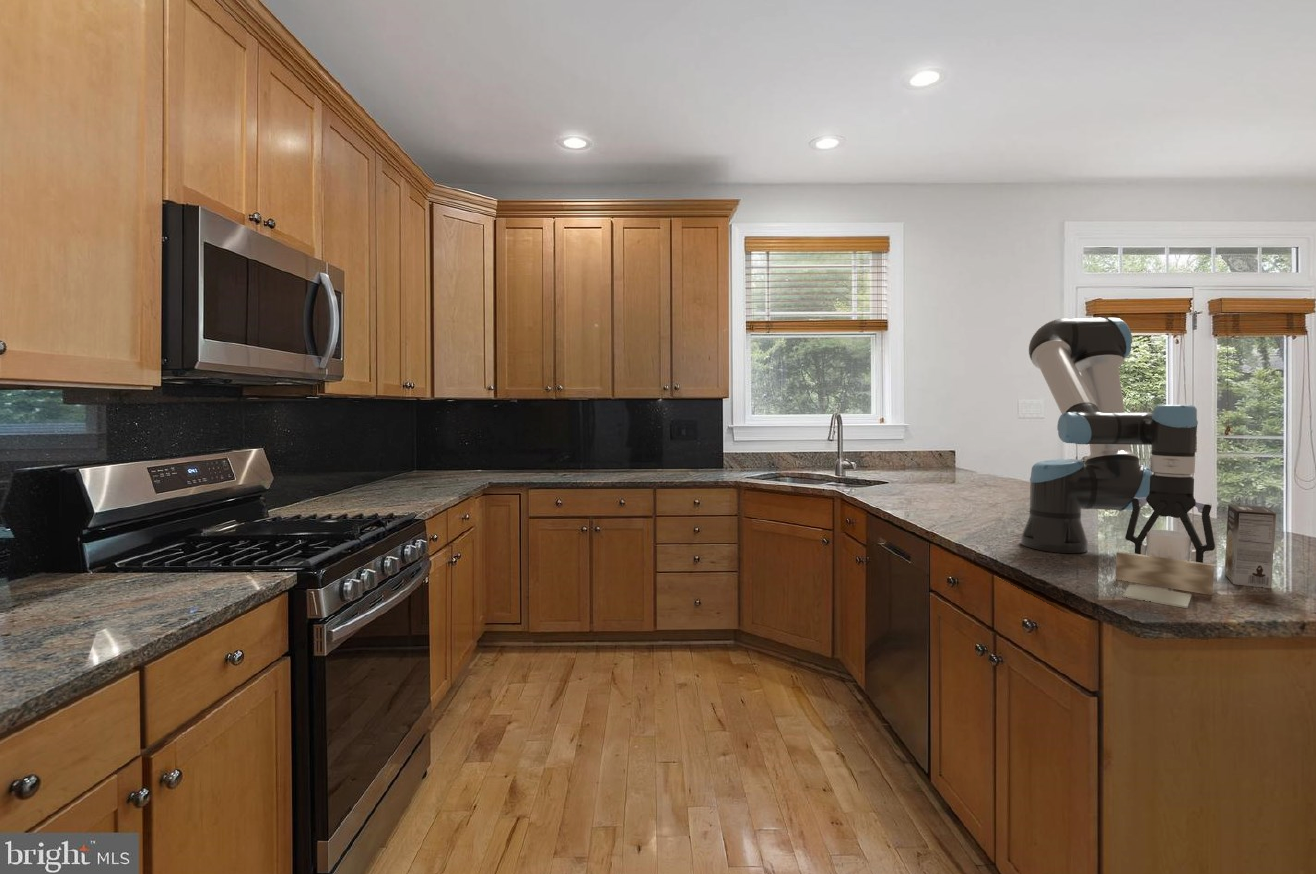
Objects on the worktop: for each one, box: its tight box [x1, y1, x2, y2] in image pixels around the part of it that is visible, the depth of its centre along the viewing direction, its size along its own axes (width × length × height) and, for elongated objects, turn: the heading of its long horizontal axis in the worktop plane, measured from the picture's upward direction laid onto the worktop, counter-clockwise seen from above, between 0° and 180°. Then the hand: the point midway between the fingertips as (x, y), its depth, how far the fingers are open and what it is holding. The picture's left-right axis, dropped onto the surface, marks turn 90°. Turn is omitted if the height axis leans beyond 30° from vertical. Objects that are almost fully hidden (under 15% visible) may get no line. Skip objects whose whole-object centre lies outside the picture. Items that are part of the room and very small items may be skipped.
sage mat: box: [1122, 583, 1193, 609], centre depth 126 cm, size 10×10×1 cm
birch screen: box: [1115, 551, 1215, 596], centre depth 133 cm, size 16×2×6 cm, turn 46°
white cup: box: [1145, 529, 1192, 561], centre depth 139 cm, size 8×8×10 cm
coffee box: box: [1224, 504, 1277, 589], centre depth 136 cm, size 9×6×16 cm
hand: (1167, 576), depth 140 cm, fingers open, 8 cm apart
